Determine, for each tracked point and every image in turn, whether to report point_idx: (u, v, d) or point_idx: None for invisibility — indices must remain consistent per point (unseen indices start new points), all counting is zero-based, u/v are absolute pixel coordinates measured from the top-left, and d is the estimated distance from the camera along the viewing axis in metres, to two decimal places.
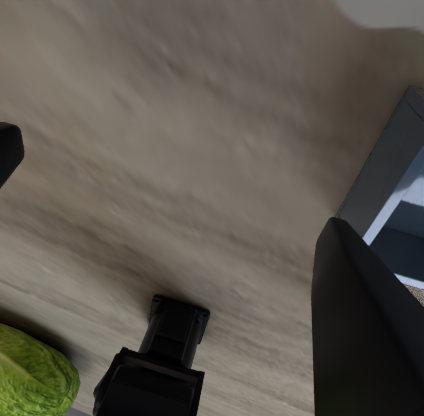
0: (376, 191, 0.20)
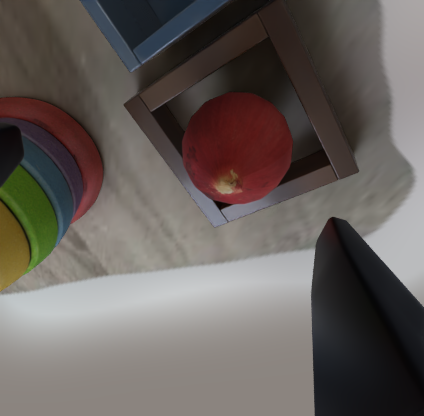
0: None
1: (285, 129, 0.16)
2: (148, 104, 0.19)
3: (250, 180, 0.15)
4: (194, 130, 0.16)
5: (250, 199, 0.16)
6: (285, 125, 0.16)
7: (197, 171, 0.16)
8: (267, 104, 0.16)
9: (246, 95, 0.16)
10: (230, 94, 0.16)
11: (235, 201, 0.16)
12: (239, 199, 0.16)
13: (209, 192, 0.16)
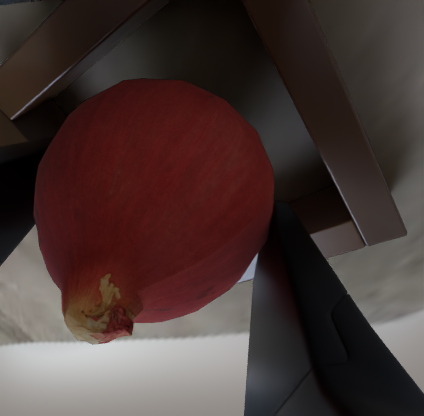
0: None
1: (254, 161, 0.07)
2: (2, 106, 0.10)
3: (162, 294, 0.06)
4: (43, 166, 0.07)
5: (178, 316, 0.07)
6: (255, 152, 0.07)
7: (46, 262, 0.07)
8: (213, 105, 0.07)
9: (164, 84, 0.07)
10: (130, 82, 0.07)
11: (144, 322, 0.07)
12: (150, 321, 0.07)
13: None
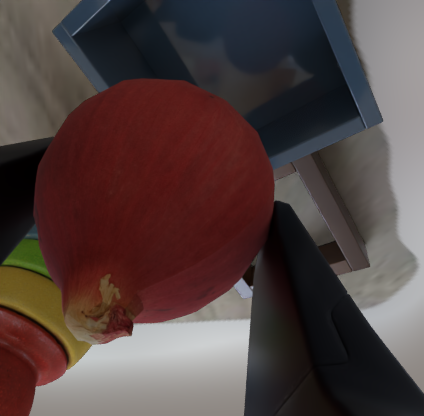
0: None
1: (255, 162, 0.07)
2: None
3: (162, 294, 0.06)
4: (42, 166, 0.07)
5: None
6: (255, 152, 0.07)
7: (46, 262, 0.07)
8: (213, 105, 0.07)
9: (165, 84, 0.07)
10: (131, 82, 0.07)
11: None
12: (150, 322, 0.07)
13: None
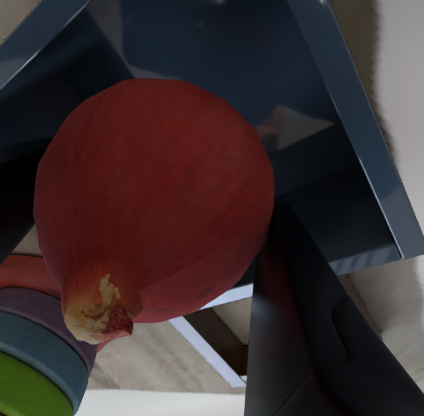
0: None
1: (255, 161, 0.07)
2: None
3: (162, 294, 0.06)
4: (42, 166, 0.07)
5: (178, 316, 0.07)
6: (255, 152, 0.07)
7: (45, 262, 0.07)
8: (213, 104, 0.07)
9: (164, 84, 0.07)
10: (130, 82, 0.07)
11: (144, 322, 0.07)
12: (150, 322, 0.07)
13: None
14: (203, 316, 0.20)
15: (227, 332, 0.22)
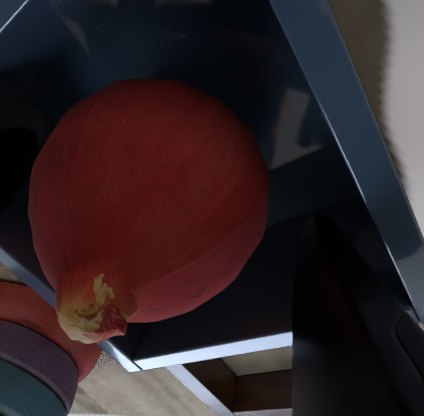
0: None
1: (249, 161, 0.07)
2: None
3: (156, 293, 0.06)
4: (37, 166, 0.07)
5: (173, 316, 0.07)
6: (249, 151, 0.07)
7: (40, 261, 0.07)
8: (207, 104, 0.07)
9: (159, 84, 0.07)
10: (125, 82, 0.07)
11: None
12: (145, 321, 0.07)
13: None
14: None
15: (219, 363, 0.20)
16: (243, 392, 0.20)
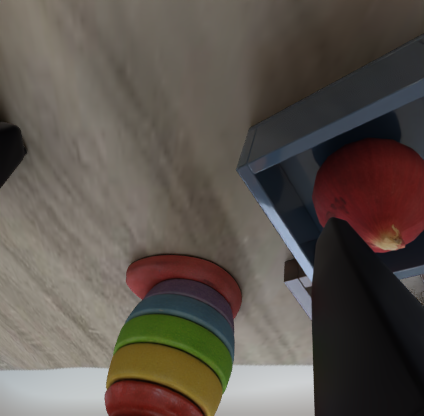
0: (329, 109, 0.16)
1: None
2: (304, 283, 0.25)
3: (407, 234, 0.15)
4: (342, 181, 0.16)
5: None
6: None
7: None
8: (415, 153, 0.16)
9: (393, 144, 0.16)
10: (375, 143, 0.16)
11: (380, 251, 0.16)
12: None
13: None
14: None
15: None
16: None
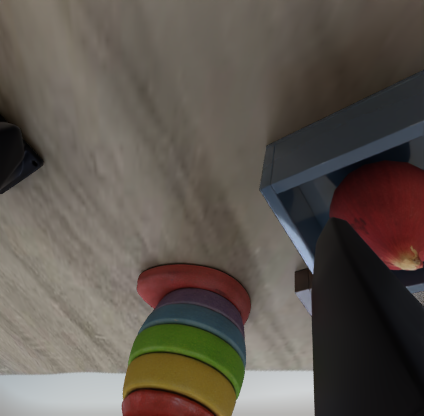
0: (350, 134, 0.17)
1: None
2: None
3: (423, 254, 0.16)
4: (362, 203, 0.16)
5: None
6: None
7: (366, 242, 0.16)
8: None
9: (410, 168, 0.17)
10: (393, 166, 0.17)
11: (397, 269, 0.17)
12: None
13: None
14: None
15: None
16: None
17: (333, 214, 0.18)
